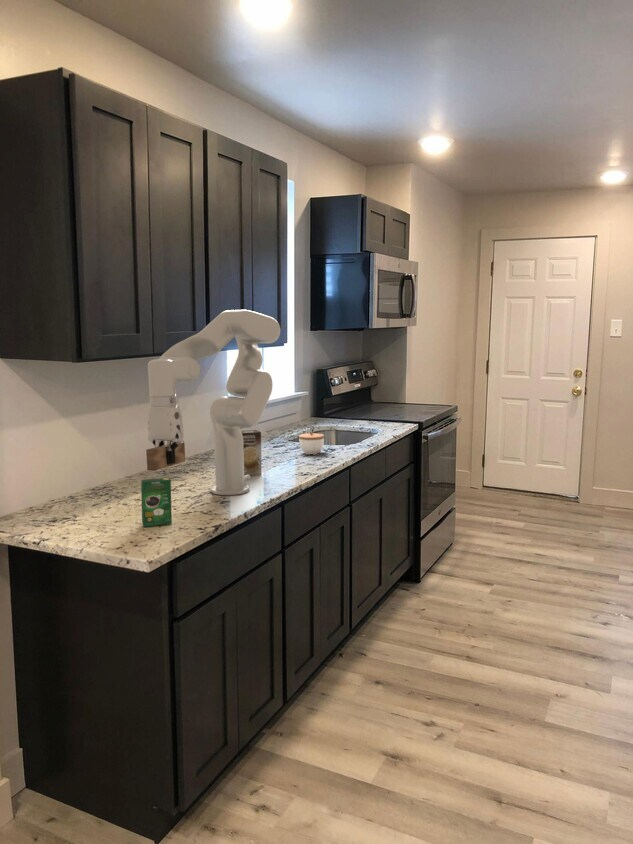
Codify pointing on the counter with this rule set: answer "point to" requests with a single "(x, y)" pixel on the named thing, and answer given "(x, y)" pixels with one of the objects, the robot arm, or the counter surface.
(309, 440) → the lidded jar
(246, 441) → the coffee box
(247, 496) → the counter surface
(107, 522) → the counter surface
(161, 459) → the brown rectangular block
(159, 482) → the coffee box
